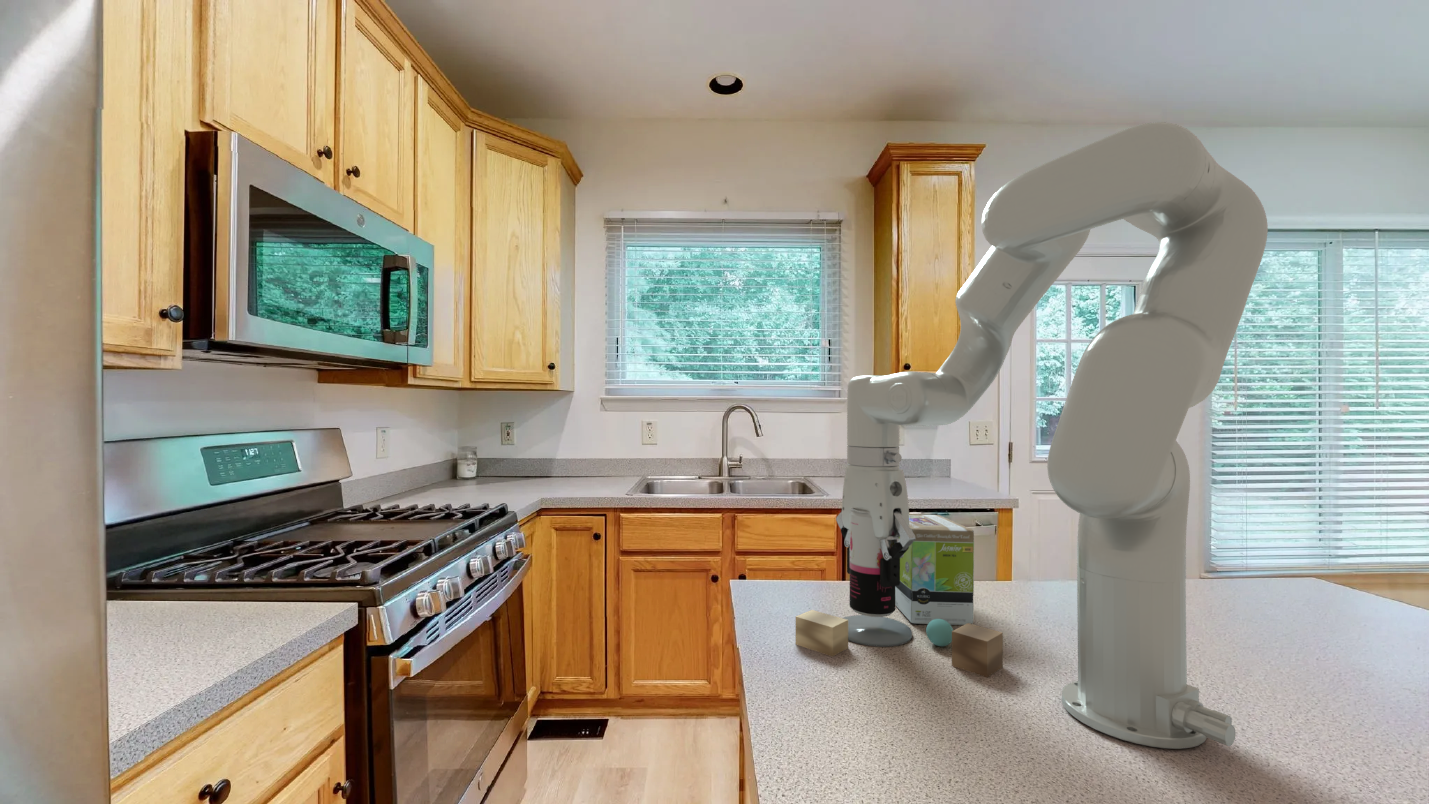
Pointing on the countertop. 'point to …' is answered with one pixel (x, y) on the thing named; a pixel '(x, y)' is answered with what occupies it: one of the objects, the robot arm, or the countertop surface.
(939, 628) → the teal rubber ball
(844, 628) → the oak block
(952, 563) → the tea box
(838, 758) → the countertop surface
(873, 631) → the grey round disc
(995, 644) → the walnut cube
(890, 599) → the beverage can
